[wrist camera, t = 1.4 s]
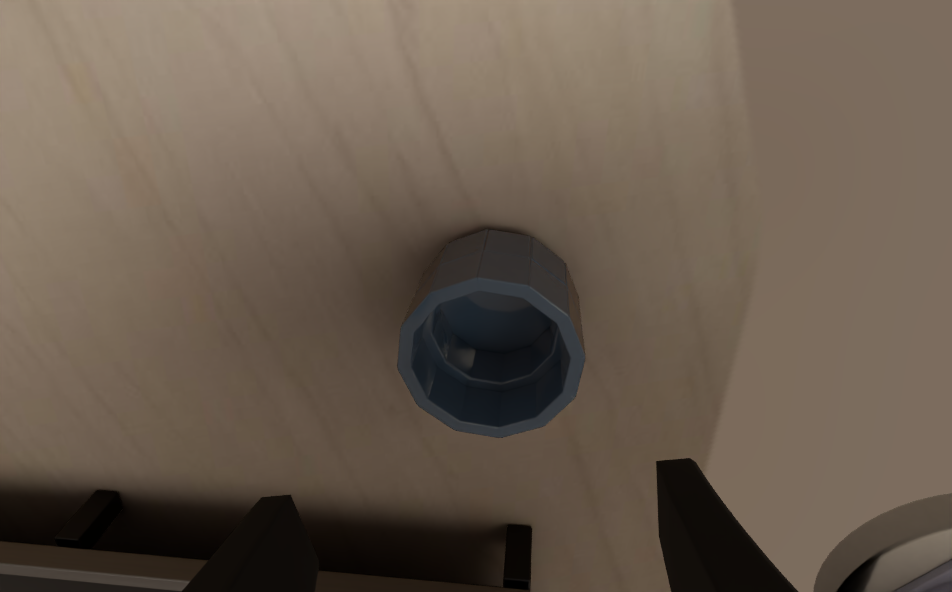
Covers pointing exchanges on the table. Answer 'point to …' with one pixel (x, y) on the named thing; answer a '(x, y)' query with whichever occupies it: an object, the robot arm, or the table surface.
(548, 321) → the cup
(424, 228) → the table surface
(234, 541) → the robot arm
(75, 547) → the conveyor belt
